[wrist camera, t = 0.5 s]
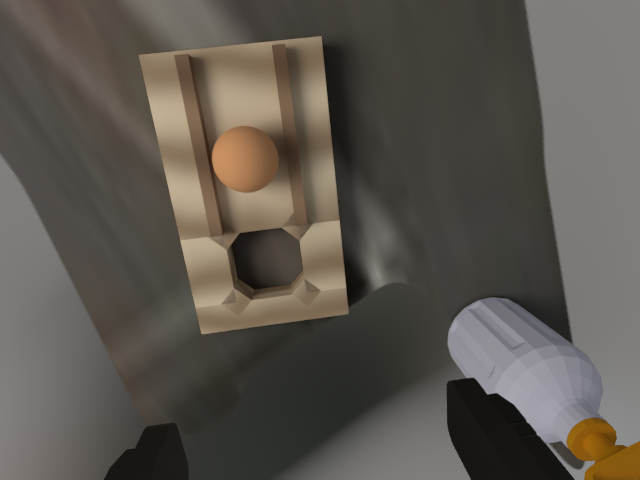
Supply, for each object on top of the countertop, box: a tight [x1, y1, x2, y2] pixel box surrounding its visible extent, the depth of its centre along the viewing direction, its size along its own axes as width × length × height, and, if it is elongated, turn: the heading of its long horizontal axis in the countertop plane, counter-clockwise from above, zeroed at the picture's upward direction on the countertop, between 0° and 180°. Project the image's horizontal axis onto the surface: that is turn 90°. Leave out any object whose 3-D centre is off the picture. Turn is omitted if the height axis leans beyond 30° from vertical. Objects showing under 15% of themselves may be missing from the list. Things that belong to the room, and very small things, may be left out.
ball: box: [212, 126, 279, 193], centre depth 29 cm, size 5×5×5 cm
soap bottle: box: [448, 297, 640, 480], centre depth 29 cm, size 9×9×25 cm
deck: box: [139, 36, 349, 334], centre depth 33 cm, size 24×14×4 cm, turn 6°
